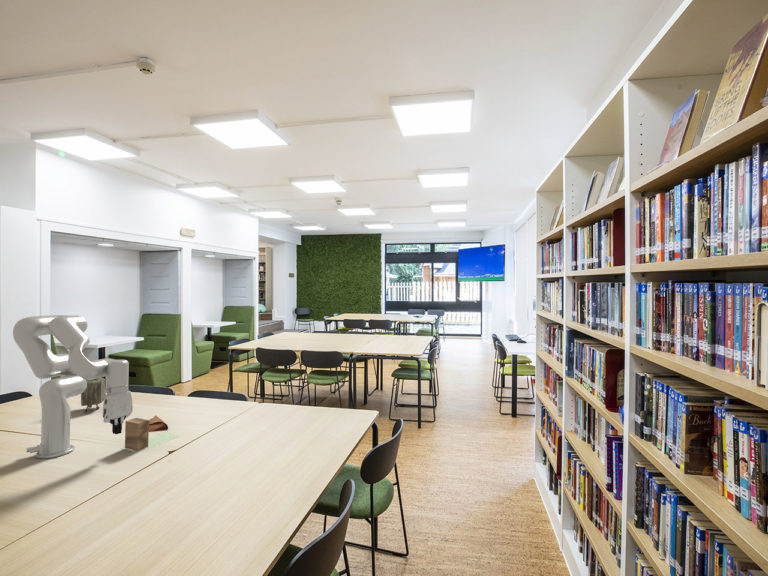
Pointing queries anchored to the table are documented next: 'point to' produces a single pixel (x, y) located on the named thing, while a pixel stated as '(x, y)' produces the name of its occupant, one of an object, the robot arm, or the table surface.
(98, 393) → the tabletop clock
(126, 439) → the walnut block
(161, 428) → the sunglasses case
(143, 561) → the table surface
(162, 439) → the felt mat
